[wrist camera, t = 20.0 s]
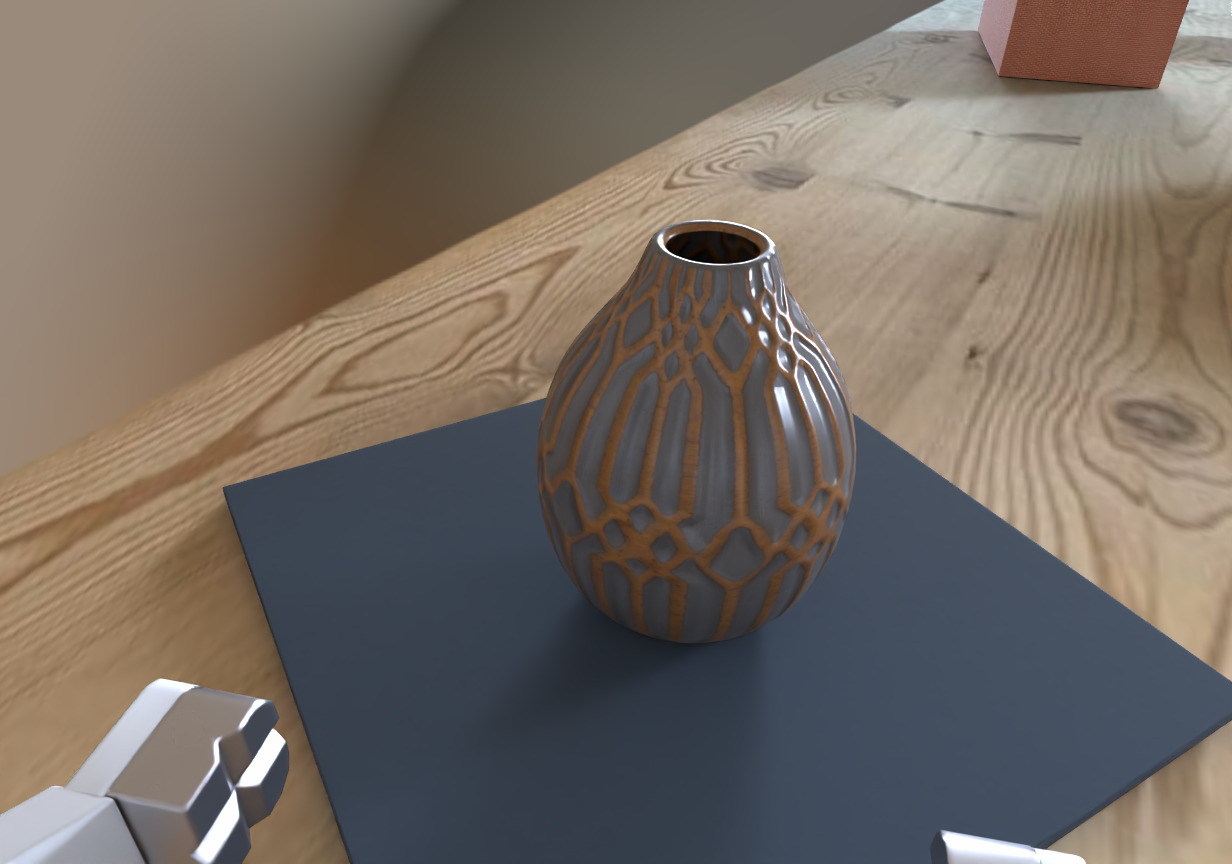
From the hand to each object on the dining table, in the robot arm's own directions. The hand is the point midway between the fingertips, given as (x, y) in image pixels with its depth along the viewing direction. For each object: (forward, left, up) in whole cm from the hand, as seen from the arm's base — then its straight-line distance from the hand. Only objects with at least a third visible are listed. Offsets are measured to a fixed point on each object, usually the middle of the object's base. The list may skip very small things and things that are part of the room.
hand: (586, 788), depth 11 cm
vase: (+7, +7, -6) cm, 11 cm away
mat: (+7, +7, -6) cm, 11 cm away
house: (+70, +45, -6) cm, 83 cm away
